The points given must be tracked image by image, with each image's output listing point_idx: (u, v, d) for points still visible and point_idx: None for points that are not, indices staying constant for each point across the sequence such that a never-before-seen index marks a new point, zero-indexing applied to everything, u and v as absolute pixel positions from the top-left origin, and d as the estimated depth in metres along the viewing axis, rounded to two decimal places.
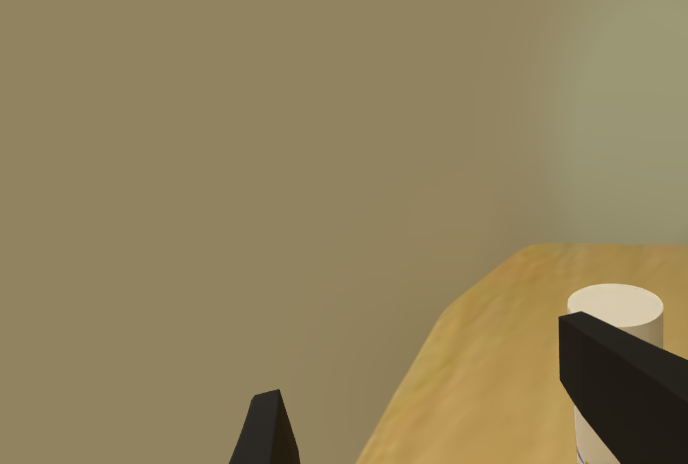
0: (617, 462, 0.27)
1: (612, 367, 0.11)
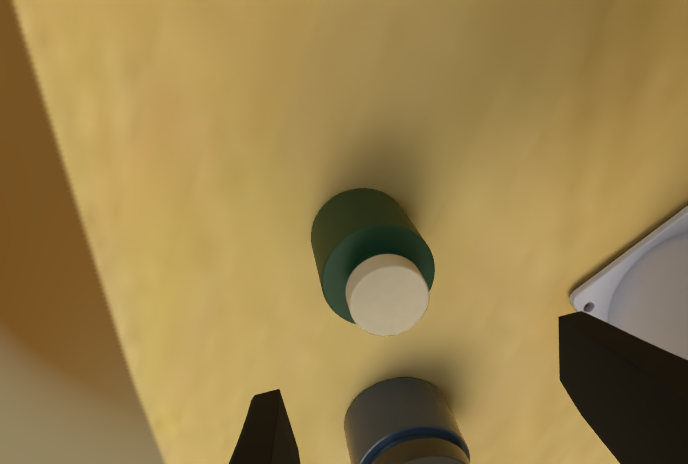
0: None
1: (612, 367, 0.11)
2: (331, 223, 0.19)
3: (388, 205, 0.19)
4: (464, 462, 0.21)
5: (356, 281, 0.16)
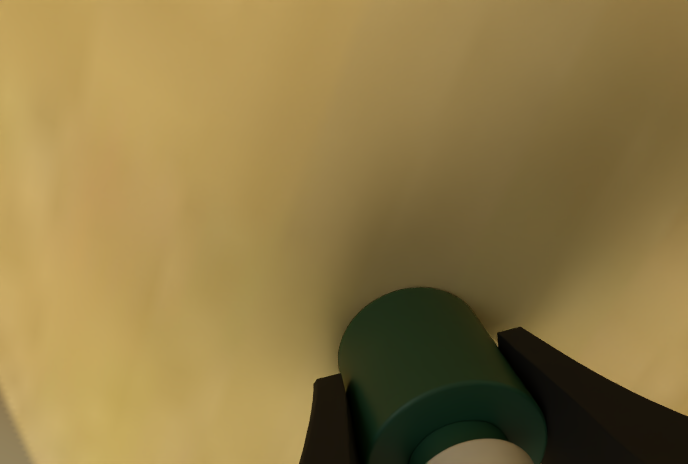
0: None
1: (541, 386, 0.11)
2: (376, 358, 0.12)
3: (464, 325, 0.12)
4: None
5: None
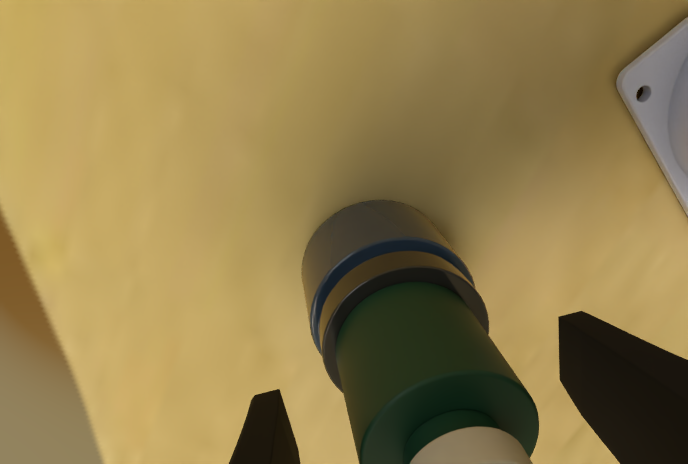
0: None
1: (612, 367, 0.11)
2: (371, 350, 0.12)
3: (458, 318, 0.12)
4: (469, 283, 0.14)
5: None
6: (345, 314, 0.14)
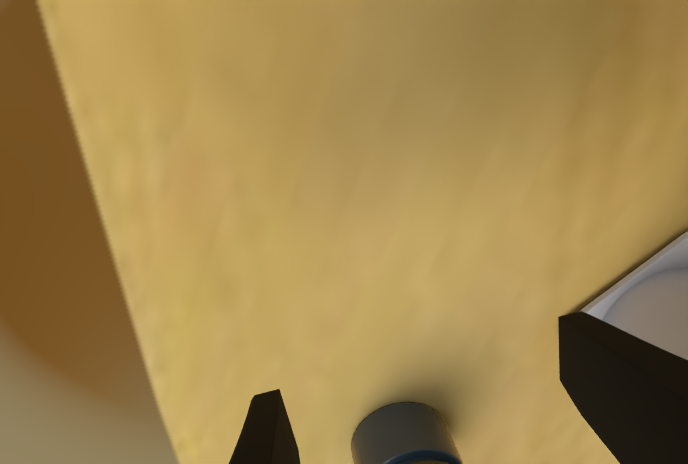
0: None
1: (612, 367, 0.11)
2: None
3: None
4: None
5: None
6: None
